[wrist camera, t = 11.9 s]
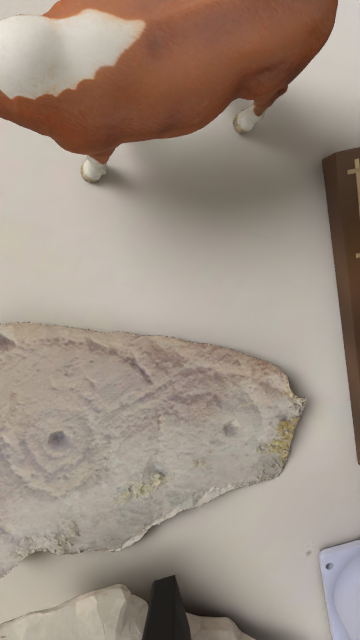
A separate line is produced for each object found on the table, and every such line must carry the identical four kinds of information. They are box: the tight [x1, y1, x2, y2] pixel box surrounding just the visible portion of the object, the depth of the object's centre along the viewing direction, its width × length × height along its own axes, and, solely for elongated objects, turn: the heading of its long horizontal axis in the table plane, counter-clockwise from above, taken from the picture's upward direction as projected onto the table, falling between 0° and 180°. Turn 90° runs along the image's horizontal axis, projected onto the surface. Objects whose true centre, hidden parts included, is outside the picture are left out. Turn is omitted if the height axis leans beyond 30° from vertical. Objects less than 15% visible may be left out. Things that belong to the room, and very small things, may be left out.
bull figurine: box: [0, 0, 338, 183], centre depth 11 cm, size 4×13×8 cm, turn 103°
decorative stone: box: [0, 322, 306, 578], centre depth 18 cm, size 20×14×1 cm
